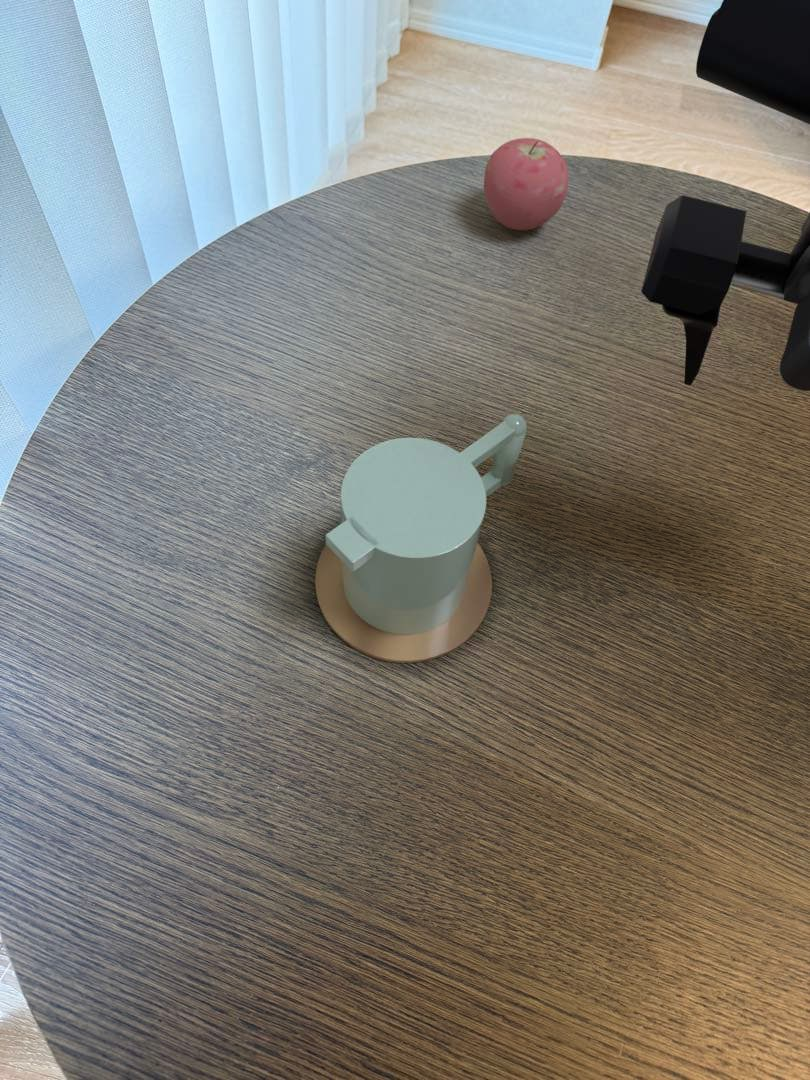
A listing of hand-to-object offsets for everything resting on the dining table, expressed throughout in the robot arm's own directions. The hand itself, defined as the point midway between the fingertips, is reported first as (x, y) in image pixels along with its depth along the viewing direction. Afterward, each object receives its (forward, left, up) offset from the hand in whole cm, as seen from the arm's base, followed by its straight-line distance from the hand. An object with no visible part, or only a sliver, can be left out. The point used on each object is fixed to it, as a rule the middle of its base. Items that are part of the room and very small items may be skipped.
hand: (764, 401), depth 49 cm
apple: (+20, -28, -13) cm, 37 cm away
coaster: (+18, +12, -13) cm, 25 cm away
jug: (+17, +10, -13) cm, 24 cm away
